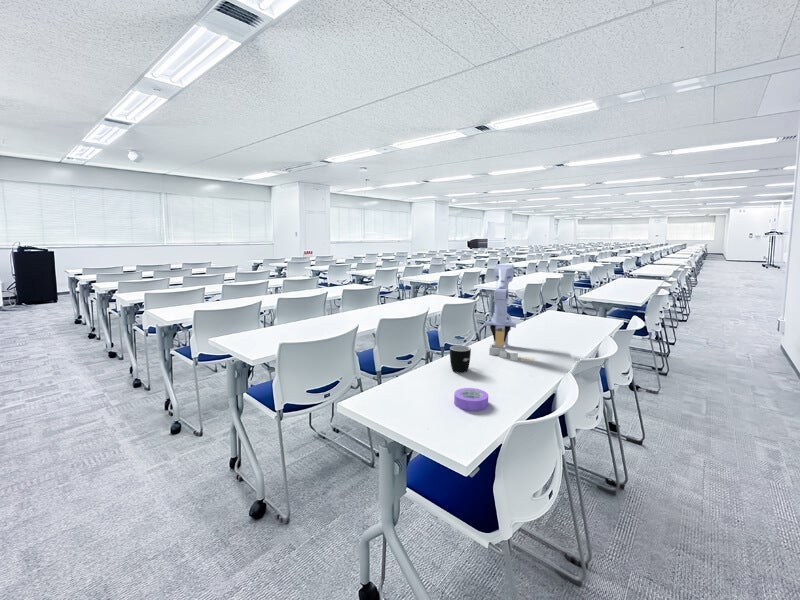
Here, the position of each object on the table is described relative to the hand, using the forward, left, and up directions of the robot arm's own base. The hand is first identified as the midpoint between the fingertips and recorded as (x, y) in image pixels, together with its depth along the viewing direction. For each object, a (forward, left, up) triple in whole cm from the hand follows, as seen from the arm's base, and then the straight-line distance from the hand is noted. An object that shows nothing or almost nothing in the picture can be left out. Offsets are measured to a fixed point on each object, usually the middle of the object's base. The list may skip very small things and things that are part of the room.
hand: (499, 341), depth 184 cm
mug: (+24, -15, -8) cm, 29 cm away
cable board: (+2, +6, -8) cm, 10 cm away
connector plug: (0, 0, -2) cm, 2 cm away
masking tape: (+58, -7, -8) cm, 59 cm away
